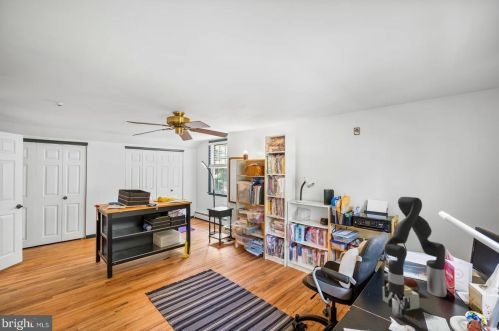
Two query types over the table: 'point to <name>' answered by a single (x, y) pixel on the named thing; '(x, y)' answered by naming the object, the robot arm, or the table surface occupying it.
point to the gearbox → (407, 293)
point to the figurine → (408, 284)
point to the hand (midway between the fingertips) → (397, 310)
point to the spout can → (396, 308)
